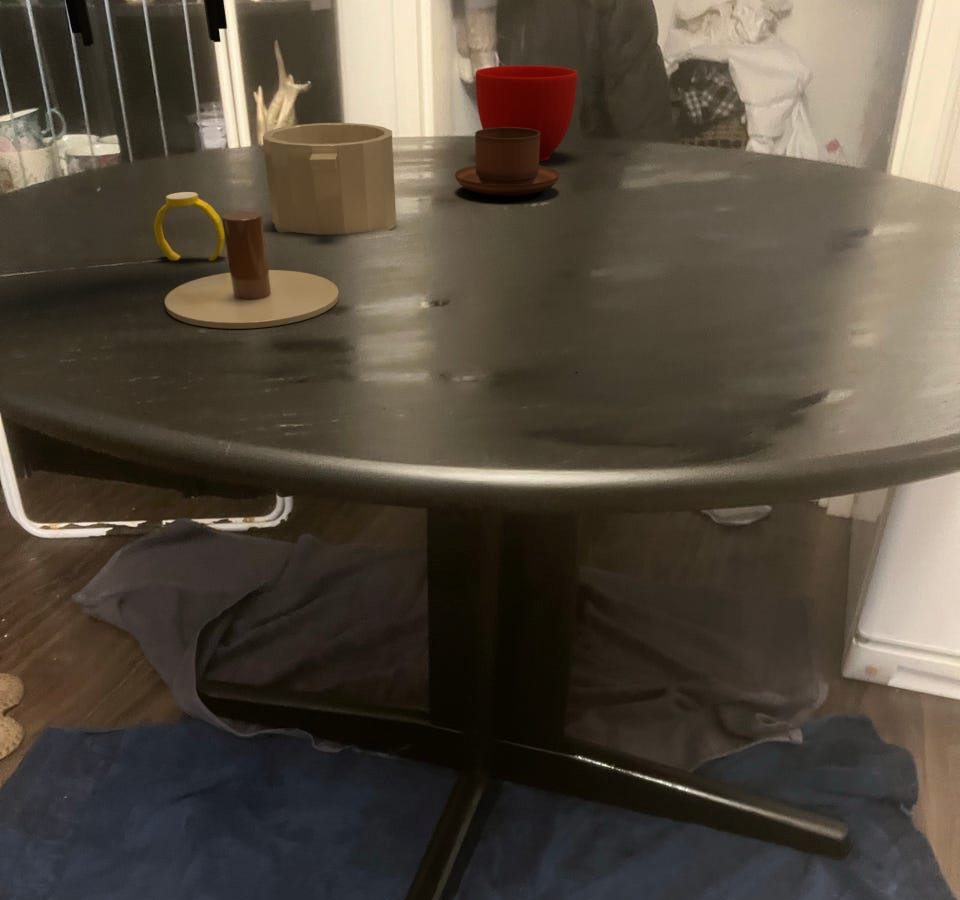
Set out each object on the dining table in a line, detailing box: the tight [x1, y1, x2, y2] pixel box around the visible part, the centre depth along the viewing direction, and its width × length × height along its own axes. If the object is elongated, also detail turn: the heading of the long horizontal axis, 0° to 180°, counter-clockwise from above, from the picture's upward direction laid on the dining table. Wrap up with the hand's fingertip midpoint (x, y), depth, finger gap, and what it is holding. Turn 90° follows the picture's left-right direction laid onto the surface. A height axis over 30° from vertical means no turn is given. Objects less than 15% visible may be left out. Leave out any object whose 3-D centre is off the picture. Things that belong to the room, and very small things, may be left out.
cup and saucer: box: [454, 127, 560, 197], centre depth 112 cm, size 12×12×6 cm
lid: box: [164, 210, 340, 330], centre depth 77 cm, size 14×14×7 cm
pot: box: [262, 122, 397, 236], centre depth 99 cm, size 13×18×8 cm
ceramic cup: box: [475, 65, 578, 162], centre depth 128 cm, size 13×17×10 cm
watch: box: [153, 191, 225, 262], centre depth 88 cm, size 6×3×6 cm, turn 89°
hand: (153, 42), depth 77 cm, fingers open, 9 cm apart
